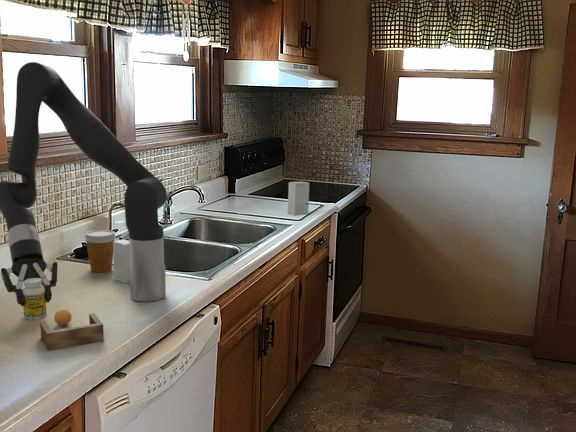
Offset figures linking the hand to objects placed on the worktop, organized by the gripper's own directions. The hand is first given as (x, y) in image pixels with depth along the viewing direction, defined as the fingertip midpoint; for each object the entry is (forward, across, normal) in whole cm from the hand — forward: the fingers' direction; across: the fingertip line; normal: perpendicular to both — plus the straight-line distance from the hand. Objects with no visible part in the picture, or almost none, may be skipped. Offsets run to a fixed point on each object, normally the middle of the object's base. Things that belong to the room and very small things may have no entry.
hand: (35, 302), depth 159 cm
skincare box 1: (-12, +29, +18) cm, 36 cm away
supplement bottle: (+2, 0, +4) cm, 5 cm away
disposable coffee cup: (-22, +25, +28) cm, 43 cm away
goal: (+15, +5, -9) cm, 18 cm away
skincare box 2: (-57, +130, +64) cm, 156 cm away
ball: (+7, +5, -4) cm, 9 cm away
